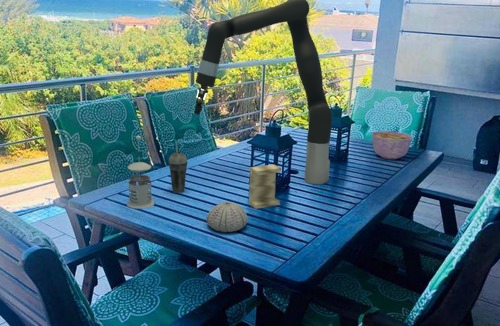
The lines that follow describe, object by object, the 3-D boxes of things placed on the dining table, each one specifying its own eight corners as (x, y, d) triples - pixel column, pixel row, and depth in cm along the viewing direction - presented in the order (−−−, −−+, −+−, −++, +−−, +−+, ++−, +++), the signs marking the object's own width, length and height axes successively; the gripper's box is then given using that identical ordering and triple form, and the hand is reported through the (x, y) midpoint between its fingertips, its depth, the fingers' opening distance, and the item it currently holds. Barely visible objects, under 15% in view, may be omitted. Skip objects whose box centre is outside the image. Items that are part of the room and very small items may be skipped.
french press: (130, 210, 164) (127, 139, 157) (122, 199, 174) (119, 132, 167) (158, 206, 169) (156, 137, 162) (148, 195, 178) (147, 130, 172)
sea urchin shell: (214, 237, 145) (214, 213, 143) (200, 221, 157) (200, 198, 155) (254, 231, 150) (255, 207, 148) (238, 216, 162) (238, 194, 160)
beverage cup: (191, 189, 187) (190, 140, 181) (182, 195, 180) (182, 144, 175) (174, 187, 189) (173, 138, 183) (165, 192, 182) (164, 142, 177)
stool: (272, 200, 178) (273, 164, 174) (279, 204, 174) (281, 167, 170) (249, 204, 173) (250, 167, 169) (255, 208, 169) (257, 171, 165)
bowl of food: (367, 151, 254) (369, 130, 251) (406, 153, 251) (408, 132, 248) (371, 161, 235) (373, 138, 232) (413, 163, 232) (416, 140, 229)
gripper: (215, 77, 181) (205, 117, 185) (217, 74, 195) (207, 112, 199) (196, 71, 180) (186, 112, 184) (199, 69, 194) (190, 107, 198)
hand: (197, 112), depth 191 cm, fingers open, 8 cm apart
